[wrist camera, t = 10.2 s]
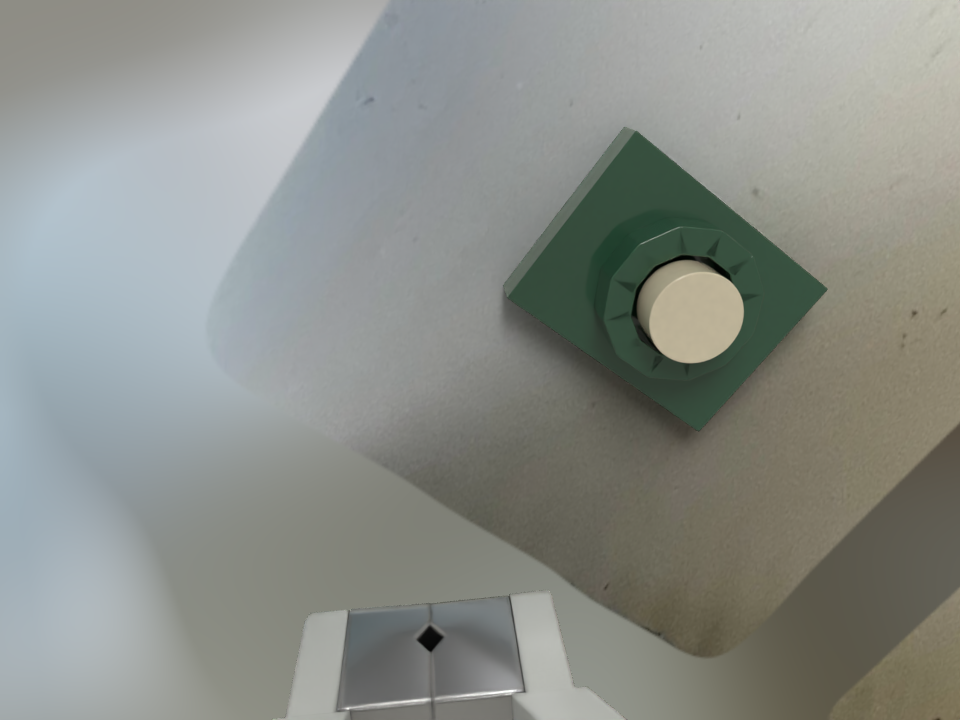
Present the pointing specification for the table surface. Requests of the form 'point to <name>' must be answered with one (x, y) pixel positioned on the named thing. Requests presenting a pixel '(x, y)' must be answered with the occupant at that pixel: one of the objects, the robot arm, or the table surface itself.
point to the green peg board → (637, 255)
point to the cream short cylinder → (690, 311)
